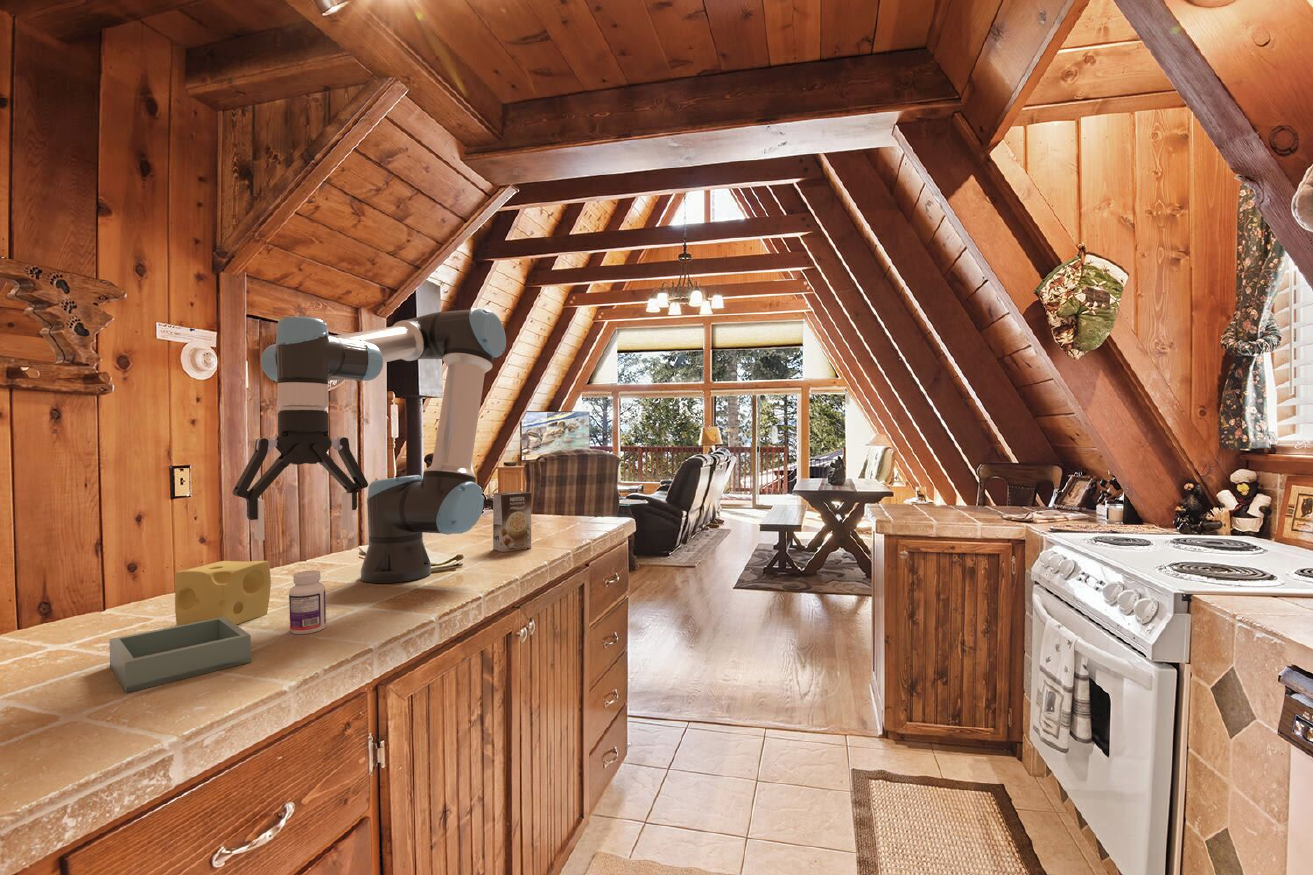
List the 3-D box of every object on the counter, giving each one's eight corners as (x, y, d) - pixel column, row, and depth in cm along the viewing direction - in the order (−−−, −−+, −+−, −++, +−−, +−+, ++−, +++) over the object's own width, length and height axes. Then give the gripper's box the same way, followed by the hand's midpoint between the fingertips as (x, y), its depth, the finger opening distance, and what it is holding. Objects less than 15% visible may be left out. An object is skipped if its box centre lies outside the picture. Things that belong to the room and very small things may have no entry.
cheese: (222, 631, 105) (221, 572, 105) (171, 628, 107) (169, 570, 107) (272, 613, 115) (271, 560, 115) (224, 610, 117) (223, 558, 117)
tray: (225, 641, 100) (224, 616, 99) (251, 662, 90) (250, 634, 90) (109, 666, 89) (109, 638, 89) (125, 693, 80) (125, 662, 80)
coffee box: (502, 552, 171) (501, 494, 170) (492, 549, 176) (491, 493, 175) (532, 548, 177) (531, 492, 176) (521, 545, 181) (521, 490, 181)
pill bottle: (302, 624, 108) (302, 569, 108) (332, 624, 108) (331, 569, 107) (282, 634, 102) (281, 576, 102) (313, 635, 102) (312, 576, 102)
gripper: (368, 411, 116) (370, 523, 117) (209, 408, 98) (211, 541, 98) (386, 410, 111) (388, 527, 111) (221, 406, 93) (223, 547, 93)
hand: (305, 534), depth 105 cm, fingers open, 13 cm apart
